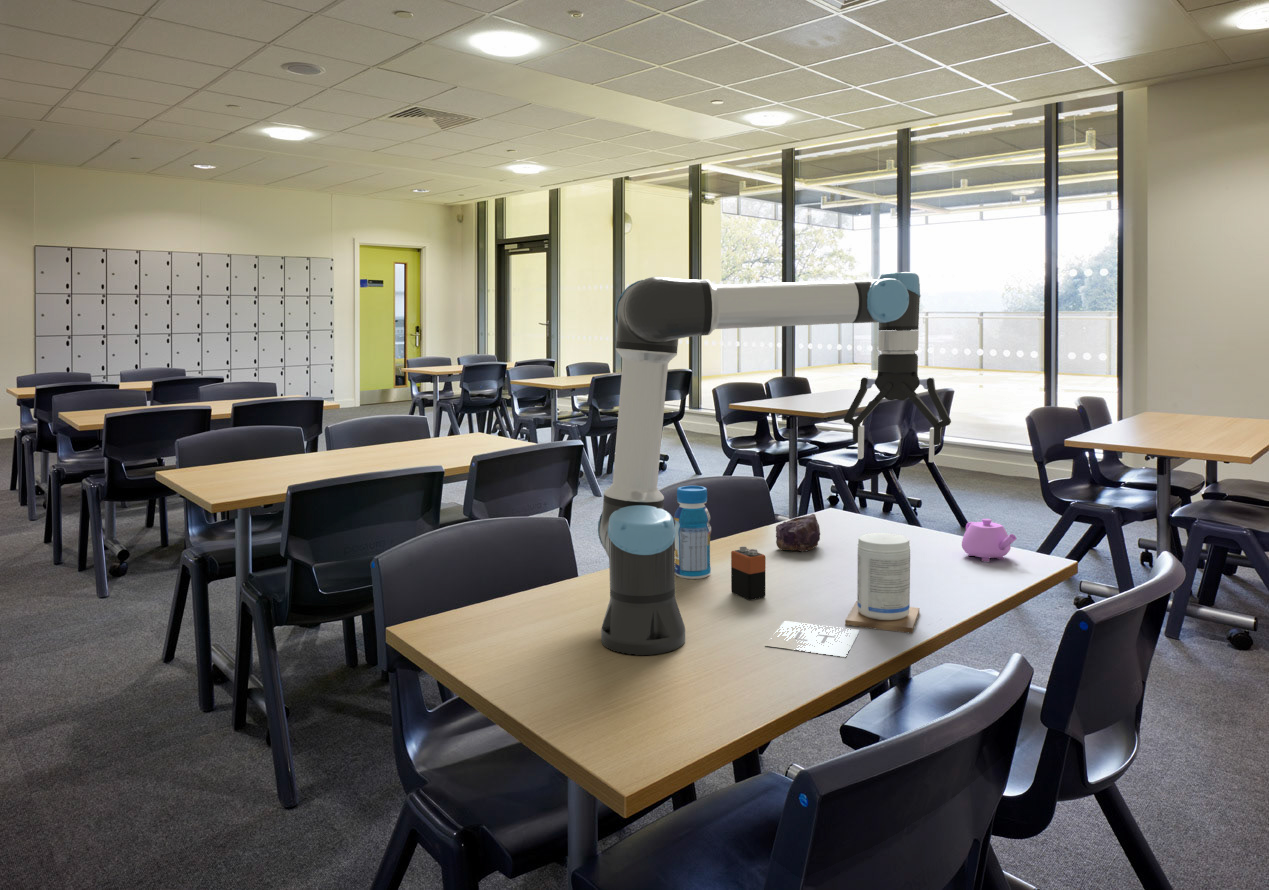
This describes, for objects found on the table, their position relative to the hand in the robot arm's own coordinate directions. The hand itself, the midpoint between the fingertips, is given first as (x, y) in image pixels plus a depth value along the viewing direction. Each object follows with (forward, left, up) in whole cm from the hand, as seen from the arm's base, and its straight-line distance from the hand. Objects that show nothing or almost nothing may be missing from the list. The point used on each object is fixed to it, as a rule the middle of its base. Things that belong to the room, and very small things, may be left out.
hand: (895, 459), depth 170 cm
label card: (-10, -28, -29) cm, 41 cm away
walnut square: (0, -13, -29) cm, 32 cm away
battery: (-28, -8, -29) cm, 41 cm away
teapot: (+17, +40, -29) cm, 52 cm away
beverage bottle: (-44, +2, -29) cm, 53 cm away
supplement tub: (0, -13, -28) cm, 31 cm away
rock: (-26, +32, -29) cm, 51 cm away
